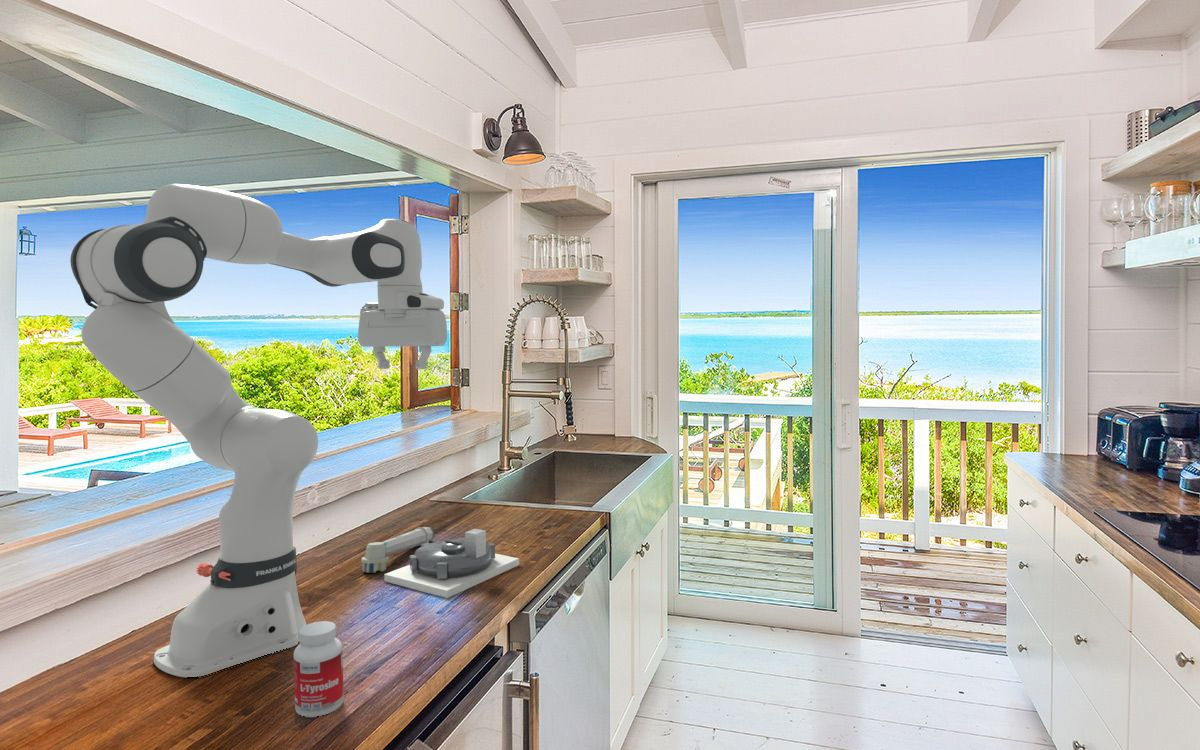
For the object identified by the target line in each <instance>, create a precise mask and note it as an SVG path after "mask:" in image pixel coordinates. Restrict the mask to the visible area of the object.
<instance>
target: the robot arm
mask: <svg viewBox="0 0 1200 750" xmlns="http://www.w3.org/2000/svg"><path fill="white" fill-rule="evenodd" d="M145 213H146V216H145V218H144V220H143V222H142V223H136V224H120V225H116V226H115V225H114V226H111V227H108V228H101V229H97V230H94V231H92V232H89V233H88V234H86V235H85V236H83V237H82V238H80V239H79V240H78V241H77V243H76V244H75V245H74V247H73V249H72V250H71V254H70V260H69V261H70V262H69V263H70V267H71V271H72V274H73V277H74V279H75V281H76V282H77V284H78V286H79V288H80V291H81V293H82V296H83V299H84V302H85V303H86V305H88V306H89V307H90V308H92V309H93V311H91V313H90V314H89V315H88V316H87V318H86V319H85V321H84V323H83V326H82V328H81V340H82V342H83V344H84V346H85V347H86V349H87V350H88V351H89V353H91V354H92V355H93V356H94V358H95V359H96V360H97V361H98V362H99V363H100V364H101V366H103V367H104V368H105V369H106V371H108V372H109V373H110V374H111V375H112V376H113V377H114V378H115V379H116V380H117V381H118V382H119V383H121V384H122V385H124V386H125V387H126V388H127V389H128V390H129V391H131V392H132V393H134V394H135V395H136V396H138V397H139V399H141V400H142V401H144V402H145V403H146V404H148V405H149V406H150V407H152V408H153V409H154V410H155V411H156V412H158V414H160V415H162V417H164V418H165V419H166V420H168V421H169V422H170V423H171V424H172V425H173V426H175V428H176V429H177V430H178V432H179V433H180V434H181V435H182V436H183V437H184V438H185V439H186V441H187V442H189V445H190V448H191V450H192V452H193V453H194V454H195V456H196V457H197V458H199V459H200V460H201V461H203V462H205V463H207V464H209V465H211V466H212V467H215V468H217V469H220V470H225V471H232V472H234V480H233V487H232V490H231V493H230V497H229V499H228V501H227V502H226V503H225V504H223V506H222V507H221V509H220V511H219V515H218V523H219V526H218V527H219V529H218V530H219V547H220V548H219V549H220V556H219V558H218V559H217V561H216V563H215V565H212V564H209V563H206V562H202V563H200V564H198V566H197V567H196V570H195V571H196V574H197V575H198V576H200V577H201V576H202V577H204V578H209V577H210V580H209V581H210V583H209V584H208V585H207V586H206V587H205V588H204V589H203V590H202V591H201V592H200V593H199V594H198V595H196V597H195V598H194V599H193V600H192V601H191V602H190V603H188V604H187V606H186V607H184V609H182V611H180V612H179V613H178V614H177V615H176V616H175V618H174V620H173V622H172V626H171V632H170V639H169V644H167V645H165V646H163V647H161V648H159V649H157V650H156V651H155V652H154V655H153V664H154V665H155V666H156V668H158V669H159V670H161V671H162V672H164V673H166V674H169V675H172V676H176V677H180V678H187V677H197V676H198V677H199V676H204V675H206V674H208V673H211V672H214V671H217V670H220V669H224V668H226V667H229V666H233V665H236V664H240V663H243V662H246V661H249V660H252V659H255V658H258V657H261V656H264V655H267V654H270V653H272V654H275V653H277V652H276V651H278V652H281V651H284V650H287V649H289V648H290V649H291V648H293V647H295V646H298V645H299V643H300V642H299V630H300V628H302V627H303V626H305V625H307V624H308V623H307V622H306V620H305V617H304V616H305V615H304V614H303V611H302V608H301V607H302V606H301V604H300V598H299V594H298V593H299V592H298V588H297V580H296V579H297V578H296V576H297V572H298V571H297V569H298V564H297V563H298V561H297V548H296V546H294V533H293V532H294V530H293V528H294V527H293V521H294V520H293V508H294V506H293V505H294V499H295V494H296V490H297V488H298V487H297V486H298V483H299V480H300V478H301V475H302V473H303V471H304V470H306V468H307V467H309V466H310V465H311V463H312V462H313V461H314V458H315V457H316V455H317V452H318V448H319V437H318V432H317V430H316V428H315V427H314V424H313V423H311V421H309V420H308V419H307V418H305V417H303V416H301V415H298V414H296V413H293V412H291V411H288V410H286V409H279V408H278V409H277V408H261V407H257V406H254V405H252V404H251V403H248V402H247V401H246V400H244V399H243V398H242V397H241V396H240V395H239V394H238V392H237V391H236V389H235V388H234V387H233V384H232V376H231V374H230V372H229V371H228V369H227V368H226V367H224V366H223V365H222V364H221V363H220V362H219V361H217V359H216V358H214V357H213V356H212V355H211V354H210V353H209V352H207V350H206V349H204V348H203V347H202V346H201V345H200V344H198V342H197V341H195V340H194V339H193V338H192V337H191V336H190V335H188V333H186V332H185V331H184V330H183V329H181V328H180V326H178V325H177V324H176V323H175V321H174V320H173V319H172V317H171V316H170V314H169V312H168V310H167V308H166V305H165V302H170V301H173V300H176V299H178V298H181V297H183V296H185V295H187V294H188V293H190V292H191V291H192V290H193V289H194V288H195V287H196V286H197V284H198V283H199V281H200V279H201V276H202V274H203V269H204V261H205V259H210V260H215V261H220V262H226V263H232V264H238V265H267V264H269V265H274V266H277V267H282V268H287V269H290V270H296V271H299V272H301V273H305V274H306V275H307V276H309V277H311V278H312V279H313V280H315V281H317V282H319V283H320V284H322V285H324V286H327V287H330V288H331V287H332V288H333V287H335V288H337V287H339V286H345V285H346V286H347V285H350V284H351V285H354V284H364V283H372V282H377V286H376V287H377V302H367V303H365V305H363V306H362V307H361V308H360V310H359V321H358V329H357V332H358V333H357V342H358V344H359V345H360V347H362V348H364V347H365V348H366V347H367V348H368V347H369V348H372V349H373V350H372V352H373V354H374V356H375V358H376V360H377V361H378V362H377V363H378V365H377V366H378V369H379V370H388V369H390V364H391V363H390V359H387V357H386V356H385V353H386V347H418V348H419V349H418V350H419V352H420V356H419V358H418V359H417V360H415V369H416V370H426V369H427V368H428V366H427V365H428V363H427V361H428V359H429V357H430V355H431V354H432V347H444V346H445V345H446V343H447V341H448V326H447V318H446V315H445V313H444V311H442V310H443V309H444V306H445V301H444V300H443V298H441V297H436V296H434V295H431V294H428V293H425V292H423V282H422V279H421V271H422V266H423V258H422V245H421V238H420V234H419V231H418V229H417V227H416V226H415V225H414V224H412V223H410V222H409V221H407V220H404V219H398V218H384V219H382V220H380V221H379V223H377V224H376V225H373V226H372V227H369V228H366V229H364V230H361V231H357V232H351V233H345V234H338V235H326V236H320V237H315V238H313V239H310V238H306V237H302V236H298V235H295V234H292V233H288V232H284V230H283V225H282V221H281V219H280V217H279V214H278V213H277V212H276V210H275V209H274V208H273V207H272V206H269V205H267V203H264V202H261V201H259V200H257V199H255V198H252V197H249V196H245V195H242V194H239V193H235V192H231V191H226V190H223V189H218V188H212V187H208V186H207V187H206V186H201V185H192V184H184V183H183V184H181V183H170V184H166V185H163V186H160V187H159V188H157V189H156V190H155V191H154V192H153V193H152V195H151V196H150V198H149V200H148V203H147V207H146V212H145ZM93 303H94V304H93ZM298 642H299V643H298ZM286 648H287V649H286ZM283 649H284V650H283ZM280 650H281V651H280ZM274 652H275V653H274ZM270 655H271V654H270ZM267 656H268V655H267ZM264 657H265V656H264ZM261 658H262V657H261ZM258 659H259V658H258ZM255 660H256V659H255ZM252 661H253V660H252ZM249 662H250V661H249ZM246 663H247V662H246ZM243 664H244V663H243ZM240 665H241V664H240ZM204 677H205V676H204ZM199 678H200V677H199Z"/></svg>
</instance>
